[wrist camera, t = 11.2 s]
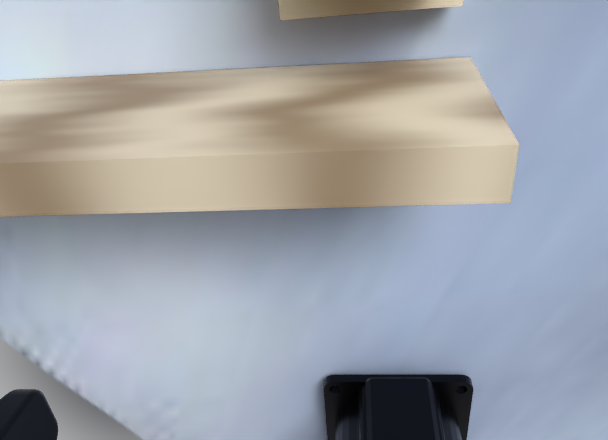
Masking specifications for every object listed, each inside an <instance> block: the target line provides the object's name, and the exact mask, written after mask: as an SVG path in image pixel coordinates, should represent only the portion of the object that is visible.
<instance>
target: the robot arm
mask: <svg viewBox="0 0 608 440" xmlns="http://www.w3.org/2000/svg"><path fill="white" fill-rule="evenodd" d="M472 394H473V386H472V382H471V379H470V378H469V377H467V376H465V375H330V376H328V377H326V379H325V380H324V399H325V411H326V423H327V436H328V440H466V439H467V431H468V424H469V416H470V409H471V402H472ZM57 435H58V425H57V421H56V419H55V417H54V414H53V413H52V411H51V408H50V406H49V404H48V402H47V400H46V398H45V396H44V394H43V393H42V392H41V391H39V390H36V389H18V390H13V391H11V392H9V393H8V394H6V395H5V396H4V397H3V398H1V399H0V440H57Z"/></svg>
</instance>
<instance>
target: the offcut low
mask: <svg viewBox="0 0 608 440" xmlns="http://www.w3.org/2000/svg"><path fill="white" fill-rule="evenodd" d="M278 5H279V13H280V20H291V19H304V18H316V17H329V16H341V15H354V14H366V13H379V12H391V11H404V10H416V9H429V8H441V7H454V6H463V0H278Z"/></svg>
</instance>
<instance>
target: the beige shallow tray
mask: <svg viewBox="0 0 608 440" xmlns="http://www.w3.org/2000/svg"><path fill="white" fill-rule="evenodd" d="M518 150H519V143H518V141H517V140H516V138H515V136H514V134H513V132H512V131H511V129H510V127H509V125H508V123H507V122H506V120H505V118H504V116H503V114H502V113H501V111H500V109H499V107H498V106H497V104H496V102H495V100H494V98H493V97H492V95H491V93H490V91H489V89H488V88H487V86H486V84H485V82H484V80H483V79H482V77H481V75H480V73H479V71H478V70H477V68H476V66H475V64H474V62H473V61H472V59H471V57H462V58H443V59H423V60H403V61H383V62H364V63H344V64H324V65H305V66H285V67H265V68H245V69H226V70H206V71H186V72H167V73H147V74H127V75H107V76H88V77H68V78H48V79H28V80H9V81H0V217H9V216H46V215H83V214H120V213H157V212H195V211H232V210H269V209H306V208H343V207H380V206H417V205H454V204H491V203H511V197H512V190H513V184H514V177H515V170H516V164H517V157H518Z"/></svg>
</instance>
